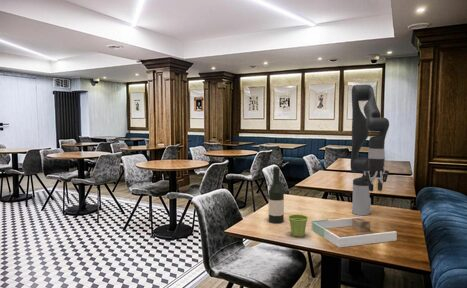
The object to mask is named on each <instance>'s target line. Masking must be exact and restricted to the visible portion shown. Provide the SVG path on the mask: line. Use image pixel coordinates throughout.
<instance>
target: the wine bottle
mask: <svg viewBox="0 0 467 288" xmlns="http://www.w3.org/2000/svg"><path fill="white" fill-rule="evenodd" d="M272 174H273V175H272V176H273V177H272V185H271V186H270V188H269V189H268V222H269V223H270V224H276V225H277V224H282V223H284V221H285V220H284V218H285V217H284V214H285V213H284V211H285V203H284V202H285V201H284V200H285V198H284V197H285V191H284V190H283V188H282V187H281V183H280V167H279V166H273V168H272Z"/></svg>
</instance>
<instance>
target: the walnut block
mask: <svg viewBox="0 0 467 288" xmlns="http://www.w3.org/2000/svg"><path fill="white" fill-rule="evenodd" d="M351 228H352V229H353V230H355V231H357V232H359V233H364V232H365V233H366V232H370V231H371V221H370V220H368V219H366V218H364V217H363V218H356V219H352V226H351Z"/></svg>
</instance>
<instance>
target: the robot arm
mask: <svg viewBox="0 0 467 288" xmlns="http://www.w3.org/2000/svg"><path fill="white" fill-rule="evenodd" d="M360 102H366V103H365V104H364V106H363V112H362V109H361V107H360ZM351 106H352V107H351V109H352V110H351V111H352V113H351V115H352V116H351V117H352V118H351V153H350V171H351V173H358V174H362V176H361V177H357V178H354V179H353V180H352V203H351V204H352V206H351V208H352V209H351V210H352V211H351V212H352V214H354V215H358V216H368V215H371V210H372V209H371V208H372V207H371V206H372V205H371V204H372V198H371V197H370V194H371V193H372V192H374V185H375V184H374V182H375V180H377V191H379V192H382V191H383V184H384V183H386V182H387V180H388V176H389V173H390V172H389V171H390V170H385V169H384V168H385V162H386V161H385V158H386V155H385V143H386V137H387V133H388V130H389V127H390V121H389V119H388V118H386V117H382V116H381V115H382V114H381V112H380V109H379V107H378V105H377V101H376V96H375V92H374V89H373V86H372V85H371V84H354V85H353V86H352V88H351ZM371 132H373V133H375V132H377V133H378V132H379V133H378V134H377V135H374V136H371V137H369V134H370V133H371ZM368 137H369V139H368ZM367 140H369V141H368V144H369V146H368V154H367V155H368V156H367V157H361V156H359V154H360V150H361V149H362V146H363V145H364V143H365V142H366V141H367ZM370 192H371V193H370Z"/></svg>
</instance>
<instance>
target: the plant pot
mask: <svg viewBox="0 0 467 288" xmlns="http://www.w3.org/2000/svg"><path fill="white" fill-rule="evenodd" d="M287 218H288V220H289V224H290V225H289V226H290V232H291V233H290V234H291V235H292V236H294V237H299V238H302V237H304V236H305V234H306V227H307V222H308V220H309V216H306V215H305V214H298V213H297V214H290V215H288V216H287Z"/></svg>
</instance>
